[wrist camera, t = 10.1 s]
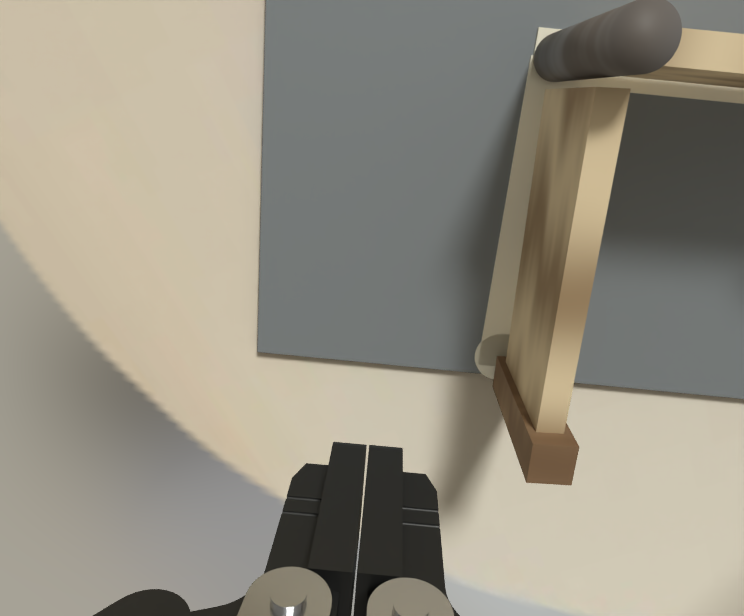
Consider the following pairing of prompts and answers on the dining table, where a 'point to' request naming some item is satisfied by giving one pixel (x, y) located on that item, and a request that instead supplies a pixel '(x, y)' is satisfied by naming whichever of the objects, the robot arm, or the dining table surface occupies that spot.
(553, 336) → the fence gate
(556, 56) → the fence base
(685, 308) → the board
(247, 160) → the dining table surface
